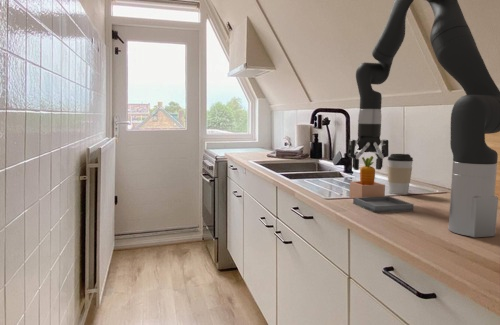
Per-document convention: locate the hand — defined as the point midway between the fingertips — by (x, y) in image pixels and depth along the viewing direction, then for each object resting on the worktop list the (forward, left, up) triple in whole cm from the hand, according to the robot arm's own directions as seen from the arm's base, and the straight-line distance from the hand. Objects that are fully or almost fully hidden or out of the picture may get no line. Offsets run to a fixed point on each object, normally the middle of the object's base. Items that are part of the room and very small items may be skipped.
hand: (367, 169), depth 133 cm
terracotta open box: (0, 0, -10) cm, 10 cm away
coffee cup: (+8, -18, -11) cm, 22 cm away
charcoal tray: (-13, +2, -10) cm, 17 cm away
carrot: (0, 0, -11) cm, 11 cm away
